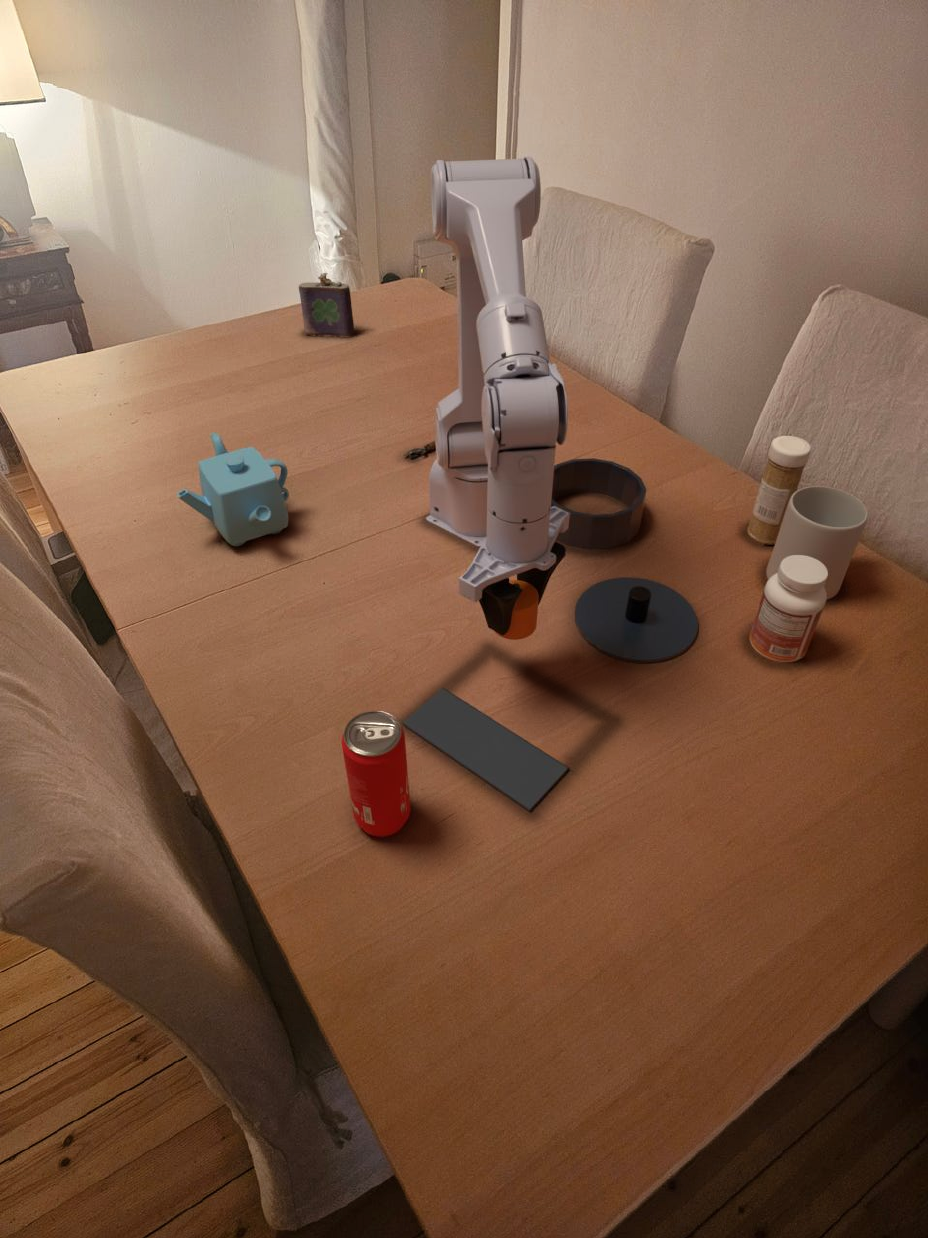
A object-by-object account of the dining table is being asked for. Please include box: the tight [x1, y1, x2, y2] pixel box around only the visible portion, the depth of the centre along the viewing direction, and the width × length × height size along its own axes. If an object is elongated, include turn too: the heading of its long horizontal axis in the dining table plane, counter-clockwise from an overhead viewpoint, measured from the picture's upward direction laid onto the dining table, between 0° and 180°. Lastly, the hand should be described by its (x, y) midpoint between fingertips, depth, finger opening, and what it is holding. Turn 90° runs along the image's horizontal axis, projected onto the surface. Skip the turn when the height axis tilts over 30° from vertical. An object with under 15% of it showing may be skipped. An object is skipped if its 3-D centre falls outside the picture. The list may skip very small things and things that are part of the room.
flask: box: [298, 272, 355, 338], centre depth 147 cm, size 9×3×11 cm, turn 84°
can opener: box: [403, 440, 436, 459], centre depth 121 cm, size 9×2×1 cm, turn 123°
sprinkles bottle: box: [746, 435, 812, 546], centre depth 101 cm, size 5×5×13 cm
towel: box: [402, 687, 570, 812], centre depth 83 cm, size 16×14×1 cm
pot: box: [551, 457, 647, 551], centre depth 106 cm, size 13×13×6 cm
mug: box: [765, 485, 869, 601], centre depth 96 cm, size 12×8×11 cm
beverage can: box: [341, 710, 411, 838], centre depth 71 cm, size 5×5×12 cm
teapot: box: [175, 432, 290, 547], centre depth 104 cm, size 18×14×10 cm
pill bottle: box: [749, 555, 828, 663], centre depth 87 cm, size 6×6×11 cm
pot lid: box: [574, 576, 699, 664], centre depth 92 cm, size 14×14×5 cm
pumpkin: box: [494, 579, 539, 641], centre depth 82 cm, size 5×5×5 cm
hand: (513, 616), depth 83 cm, fingers closed on pumpkin, 4 cm apart
